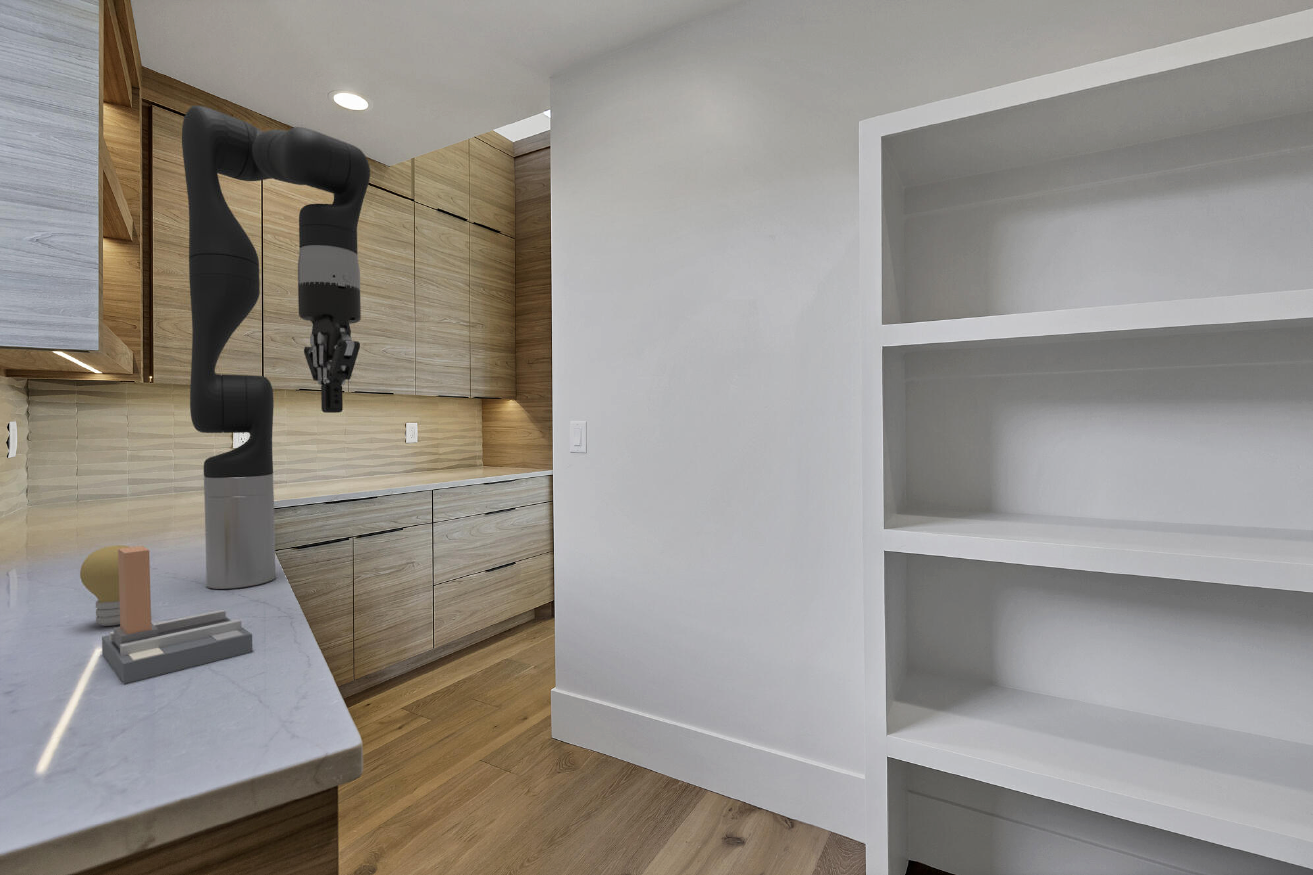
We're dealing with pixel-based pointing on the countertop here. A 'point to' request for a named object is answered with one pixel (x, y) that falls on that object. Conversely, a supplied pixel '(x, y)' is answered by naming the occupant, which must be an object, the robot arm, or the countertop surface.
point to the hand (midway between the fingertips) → (332, 412)
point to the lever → (134, 596)
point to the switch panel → (178, 646)
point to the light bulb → (104, 583)
